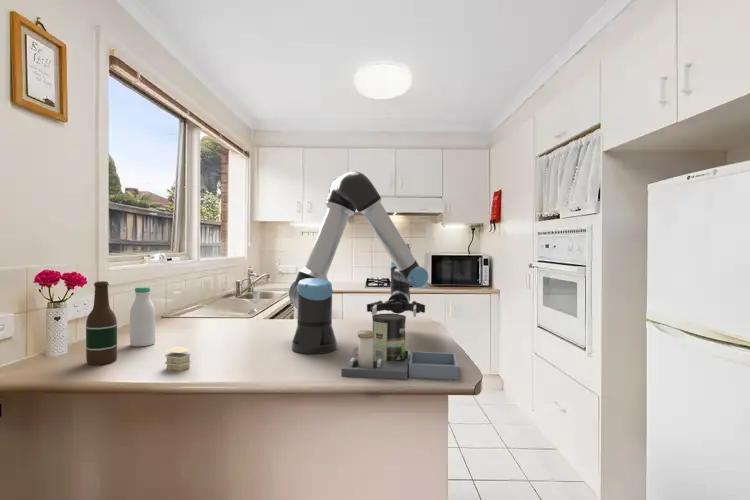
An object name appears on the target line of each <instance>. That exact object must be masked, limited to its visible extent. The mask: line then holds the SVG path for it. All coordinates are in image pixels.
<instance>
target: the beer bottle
mask: <svg viewBox="0 0 750 500" xmlns="http://www.w3.org/2000/svg"><path fill="white" fill-rule="evenodd" d="M93 286H94V297H93V308H92V310H91V311H90V312H89V313H88V316H87V318H86V321H85V322H86V323H85V345H86V346H85V350H86V351H85V353H86V354H85V357H86V364H88V366H103V365H109V364H112V363H114V362H115V361H117V359H118V321H117V317H116V315H115V312H114V311H113V310H112V309H111V307H110V299H109V298H110V297H109V287H108V286H109V282H108V281H104V280H103V281H95V282H94V283H93Z"/></svg>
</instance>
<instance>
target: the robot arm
mask: <svg viewBox="0 0 750 500" xmlns="http://www.w3.org/2000/svg"><path fill="white" fill-rule="evenodd" d="M327 196H328V197H327V199H326V201H325V205H326V207H327V211H326V213H325V216H324V218H323V220H322V223H321V226H320V228H319V231H318V234H317V236H316V238H315V241H314V243H313V247H312V249H311V251H310V254H309V257H308V259H307V260H306V265H305V267H304V268H302V269H299V272H298V273H297V276H296V279H295V280H294V281H293V282H292V284H291V285H290V287H289V289H288V290H289V292H288V297H289V301H290V302H291V304H292V306H293V307H294V308H296V309H297V317H296V319H297V326H296V328H295V333H294V335H293V338H292V342H291V350H292V351H294V352H296V353H300V354H308V355H309V354H311V355H313V354H314V355H315V354H318V355H319V354H325V353H331V352H333V351H335V350H337V347H338V346H337V343H338V342H337V339H336V336H335V331H334V329H333V325H332V324H333V323H332V321H333V293H334V292H333V285H332V282H331V281H329V279H328V276H327V275H328V273H329V270H330V268H331V265H332V263H333V260H334V257H335V254H336V253H337V249H338V246H339V244H340V242H341V239H342V237H343V234H344V230H345V229H346V225H347V223H348V221H349V219H350V217H352V216H354V215H355V213H356V211H357V213H359V214H362V216H363V217H365V220H366V221H367V223H368V224H369V226H370V228H371V229H372V231H373V232H374V234H375V235H376V237H377V239H378V240H379V242H380V244H381V245H382V247H383V249H384V250H385V252H386V253H387V254H388V256H389V258H390V259H391V261H390V297H388V300H385V301H382V300H378V301H374V302H371V303H367V304H366V312H367V313H369V312H370V313H371V315H372V316H373V315H376V314H377V313H378V312H381V311H382V312H383V311H387V312H390V311H391V312H392V314H400V315H401V314H402V313H404V312H408V311H409V312H413V314H412V315H413V317H414V318H415V317H417V314H420V313H423V314H424V313H426V305H425V304H423V303H421V302H417V301H415V300H413V301H411V293H410V292H411V290H410V289H411V287H412V288H422V287H424V286H425V285H426V284H427V282H429V281H428V280H429V273H428V270H426V269H425V267H422V266H420V264H419V263H418V262H417V260H416V258H415V257H414V255H413V253H412V251H411V250H410V249H409V247H408V245H407V244H406V242H405V240H404V239H403V237H402V235H401V233H400V232H399V230H398V228H397V227H396V225H395V223H394V222H393V220H392V219H391V217H390V215H389V214H388V213H387V211H386V209H385V207H384V205H383V204H382V203H381V202H382V197H381V196H380V194H379V192H378V191H377V188H376V187H375V186H374V184H373V182H372V181H371V180H370V179H369V177H367V176H366V175H365V174H364V173H362V172H359V171H357V170H355V171H354V170H353V171H348V172H346V173H344V174H341V175H338V176H337V177H336V178H334V179H333V180H332V182H331V183H330V185H329V188H328V195H327ZM410 301H411V302H410Z"/></svg>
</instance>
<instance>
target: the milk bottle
mask: <svg viewBox="0 0 750 500" xmlns="http://www.w3.org/2000/svg"><path fill="white" fill-rule="evenodd" d="M134 294H135V297H134V301H133V303H132V306H131V308H130V312H129V313H130V314H129V344H130V346H131V347H139V348H140V347H147V346H151V345H154V344H155V343H156V309H155V306H154V303H153V301H152V300H151V296H150V294H151V287H150V286H136V287H135V288H134Z"/></svg>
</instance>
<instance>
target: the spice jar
mask: <svg viewBox="0 0 750 500" xmlns="http://www.w3.org/2000/svg"><path fill="white" fill-rule="evenodd" d="M357 337H358V338H357V339H358V340H357V342H358V345H357V348H358V367H357V368H371V369H374V368H373V362H374V332H373V330H359V331H358V332H357Z"/></svg>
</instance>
